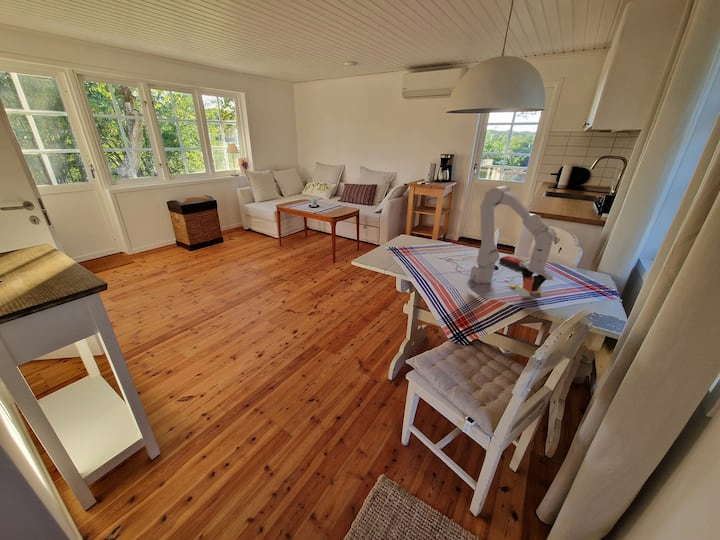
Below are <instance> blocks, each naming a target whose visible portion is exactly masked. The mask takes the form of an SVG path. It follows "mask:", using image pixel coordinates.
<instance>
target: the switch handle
mask: <svg viewBox="0 0 720 540" xmlns="http://www.w3.org/2000/svg"><path fill="white" fill-rule="evenodd" d="M542 287H543V284H541V286H540V287H539V288H538V290H537V291H535V292H531V293H539V292H540V291H542Z"/></svg>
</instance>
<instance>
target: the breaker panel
mask: <svg viewBox="0 0 720 540" xmlns="http://www.w3.org/2000/svg"><path fill="white" fill-rule="evenodd" d="M505 287H506V288H508V289H509V290H511V291H513V292H514V293H515V294H517V295H519V296H522V297H523V298H524V299H526V300H530V299H531V300H532V299H538V298H542V297H547V296H550V295H549V294H548V293H546V292H544V291H542V290H541V291H540V292H539V293H531V292H528V291H526V290H525V289H523V288H522V287H523V283H520V284H514V285H512V284H511V285H507V286H505Z"/></svg>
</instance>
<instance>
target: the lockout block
mask: <svg viewBox="0 0 720 540" xmlns="http://www.w3.org/2000/svg"><path fill="white" fill-rule="evenodd" d="M522 284H523V283H522ZM533 284H534V275H532V277H526V278H525V280H524V284H523V287H522V288H523V289H525V290H526V291H528V292H535V291H532V288H533Z"/></svg>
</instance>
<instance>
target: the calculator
mask: <svg viewBox="0 0 720 540" xmlns="http://www.w3.org/2000/svg"><path fill="white" fill-rule="evenodd" d="M498 261H499V262H501V263H503V264H505V265H504V266H506V265H507V266H506V267H508V268H511V267H512V269H514V268H515V270H517V271H519V270H520V272H521V270H523V269H524V267H520V266H519V265H520V262H526V263H530V259H529V258H526V257H523V256H521V257H520V256H519V255H516V254H509V255H507V256H506V255H505V256H503V257H501V258H500V257H499V260H498ZM501 263H500V264H501ZM503 264H502V265H503Z"/></svg>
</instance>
